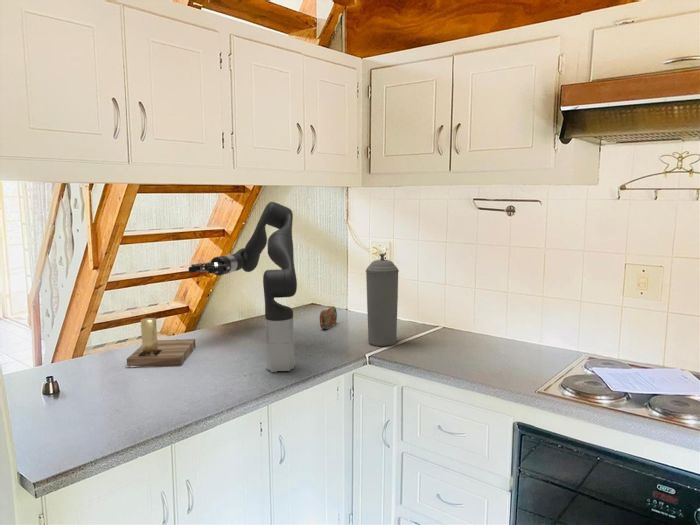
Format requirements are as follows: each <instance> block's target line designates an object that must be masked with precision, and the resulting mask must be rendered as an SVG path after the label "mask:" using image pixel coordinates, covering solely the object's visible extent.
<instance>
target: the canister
mask: <svg viewBox="0 0 700 525" xmlns="http://www.w3.org/2000/svg"><path fill="white" fill-rule="evenodd" d="M378 255H379V256H380V259H376V260H373V261H372V262H370V264H369V265H368V266H367V267H366V270H365V273H366V274H365V275H366V278H365V280H366V304H367V305H366V306H367V307H366V310H367V311H366V312H367V335H368V336H367V338H368V339H367V340H368V343H370V345H372V346H379V347H388V346H392V345H395V344H396V343H397V333H398V332H397V331H398V300H399V299H398V298H399V295H398V294H399V272H400V270H399V268H398V266H397V265H395V263H394V262H393V261H391V260H389V259H385V256H386V255H387V254H386V253H379V254H378Z"/></svg>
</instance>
